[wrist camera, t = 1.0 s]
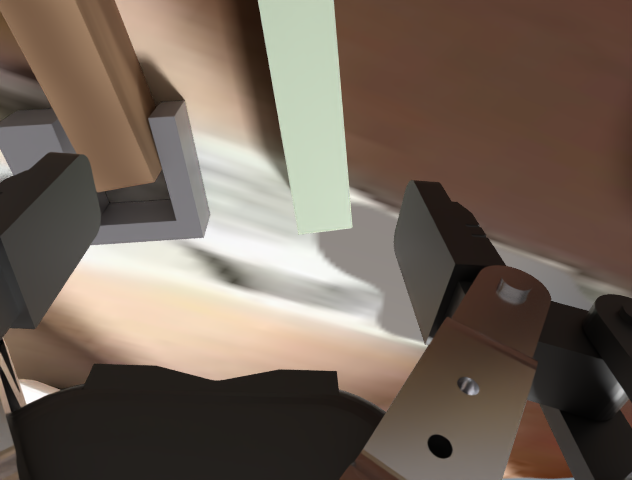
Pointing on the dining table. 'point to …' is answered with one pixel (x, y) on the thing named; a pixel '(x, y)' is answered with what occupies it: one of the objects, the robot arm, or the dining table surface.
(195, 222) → the frame
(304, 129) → the sage slat
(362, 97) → the dining table surface
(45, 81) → the walnut slat
